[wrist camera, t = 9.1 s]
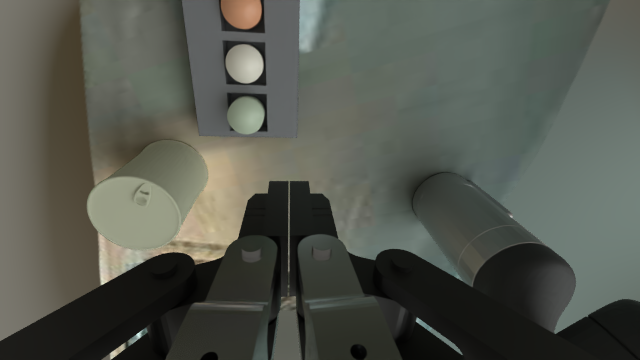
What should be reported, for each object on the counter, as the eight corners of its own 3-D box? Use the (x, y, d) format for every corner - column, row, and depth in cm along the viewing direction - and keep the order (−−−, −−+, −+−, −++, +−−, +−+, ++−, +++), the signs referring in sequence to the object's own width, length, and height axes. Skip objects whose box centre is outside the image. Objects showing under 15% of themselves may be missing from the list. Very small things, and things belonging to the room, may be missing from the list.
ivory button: (264, 44, 34) (262, 45, 32) (265, 80, 36) (263, 84, 33) (229, 43, 34) (223, 43, 31) (231, 79, 36) (227, 82, 33)
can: (218, 158, 41) (192, 201, 30) (194, 209, 44) (163, 264, 33) (150, 127, 38) (95, 162, 27) (130, 183, 41) (73, 235, 30)
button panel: (299, -18, 33) (300, -23, 30) (296, 131, 40) (297, 137, 37) (187, -26, 32) (177, -32, 29) (205, 129, 39) (199, 135, 36)
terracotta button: (262, -11, 32) (260, -15, 29) (263, 30, 34) (261, 29, 31) (224, -14, 32) (218, -18, 29) (228, 28, 33) (222, 27, 31)
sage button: (264, 95, 35) (262, 100, 33) (265, 127, 37) (263, 134, 34) (230, 94, 35) (225, 98, 32) (233, 127, 37) (228, 133, 34)
